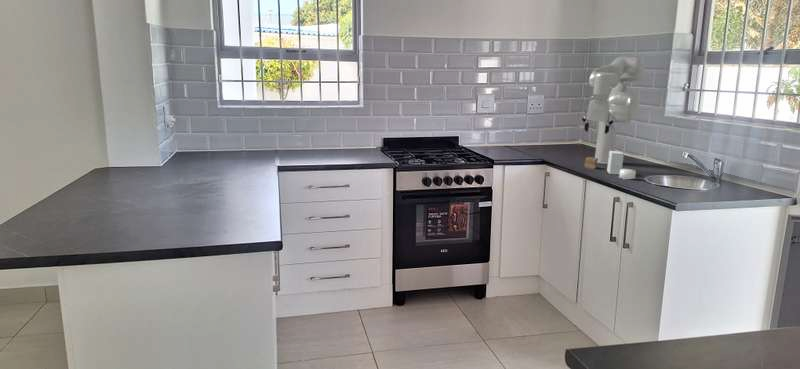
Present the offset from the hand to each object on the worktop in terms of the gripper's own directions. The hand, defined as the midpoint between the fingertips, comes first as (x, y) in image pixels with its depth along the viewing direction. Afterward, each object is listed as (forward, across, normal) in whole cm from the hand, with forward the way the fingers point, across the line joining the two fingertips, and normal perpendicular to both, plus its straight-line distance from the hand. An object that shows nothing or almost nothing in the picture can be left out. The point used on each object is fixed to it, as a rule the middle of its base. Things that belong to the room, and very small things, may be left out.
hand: (596, 132), depth 285 cm
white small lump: (+18, +20, -15) cm, 31 cm away
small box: (+19, +12, -6) cm, 23 cm away
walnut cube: (+18, -1, 0) cm, 19 cm away
